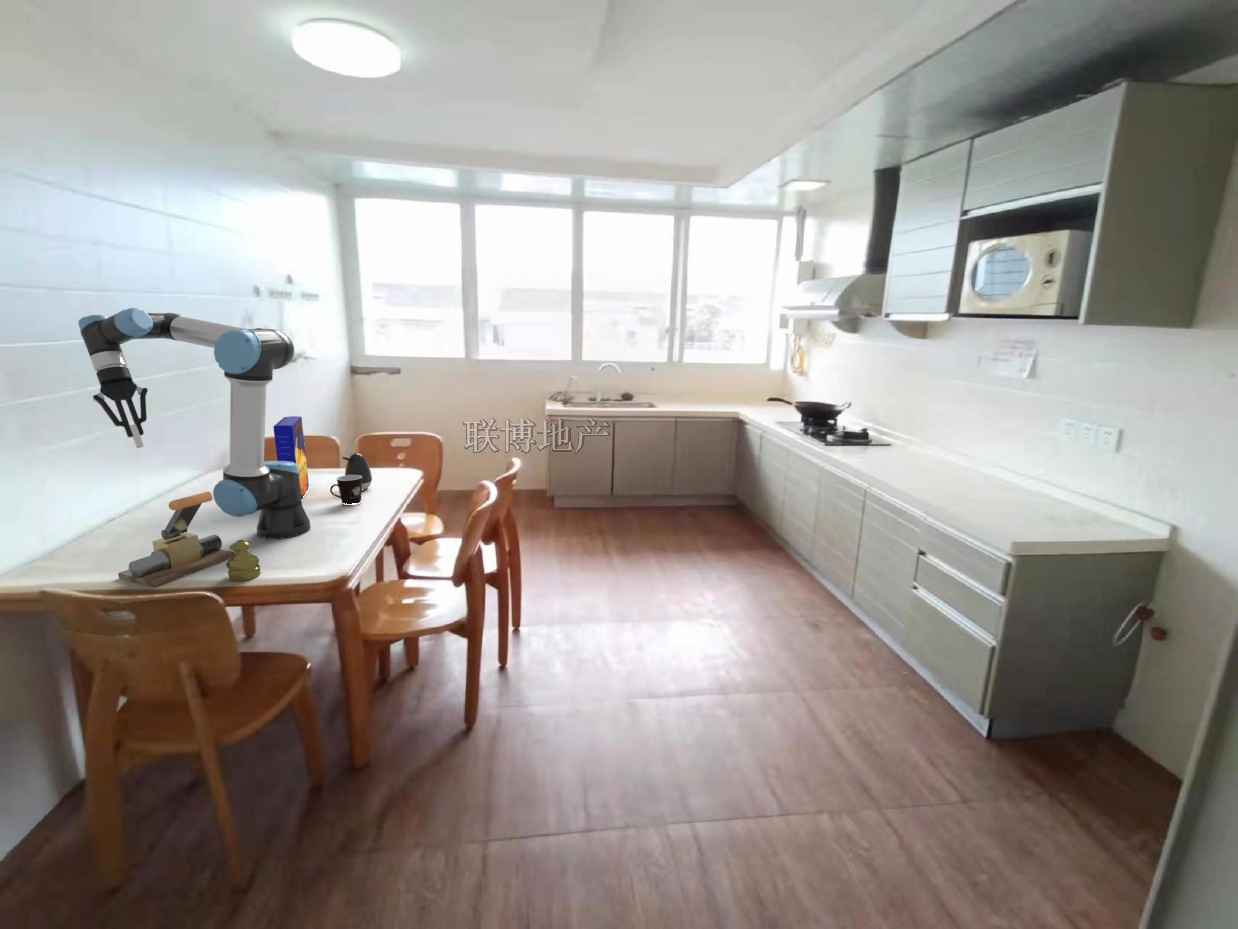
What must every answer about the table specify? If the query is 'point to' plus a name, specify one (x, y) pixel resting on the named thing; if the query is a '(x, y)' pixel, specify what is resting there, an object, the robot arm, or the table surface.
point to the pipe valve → (176, 559)
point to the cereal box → (292, 447)
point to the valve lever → (183, 514)
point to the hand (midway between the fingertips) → (140, 446)
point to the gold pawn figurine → (242, 562)
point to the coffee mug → (349, 488)
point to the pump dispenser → (359, 468)
